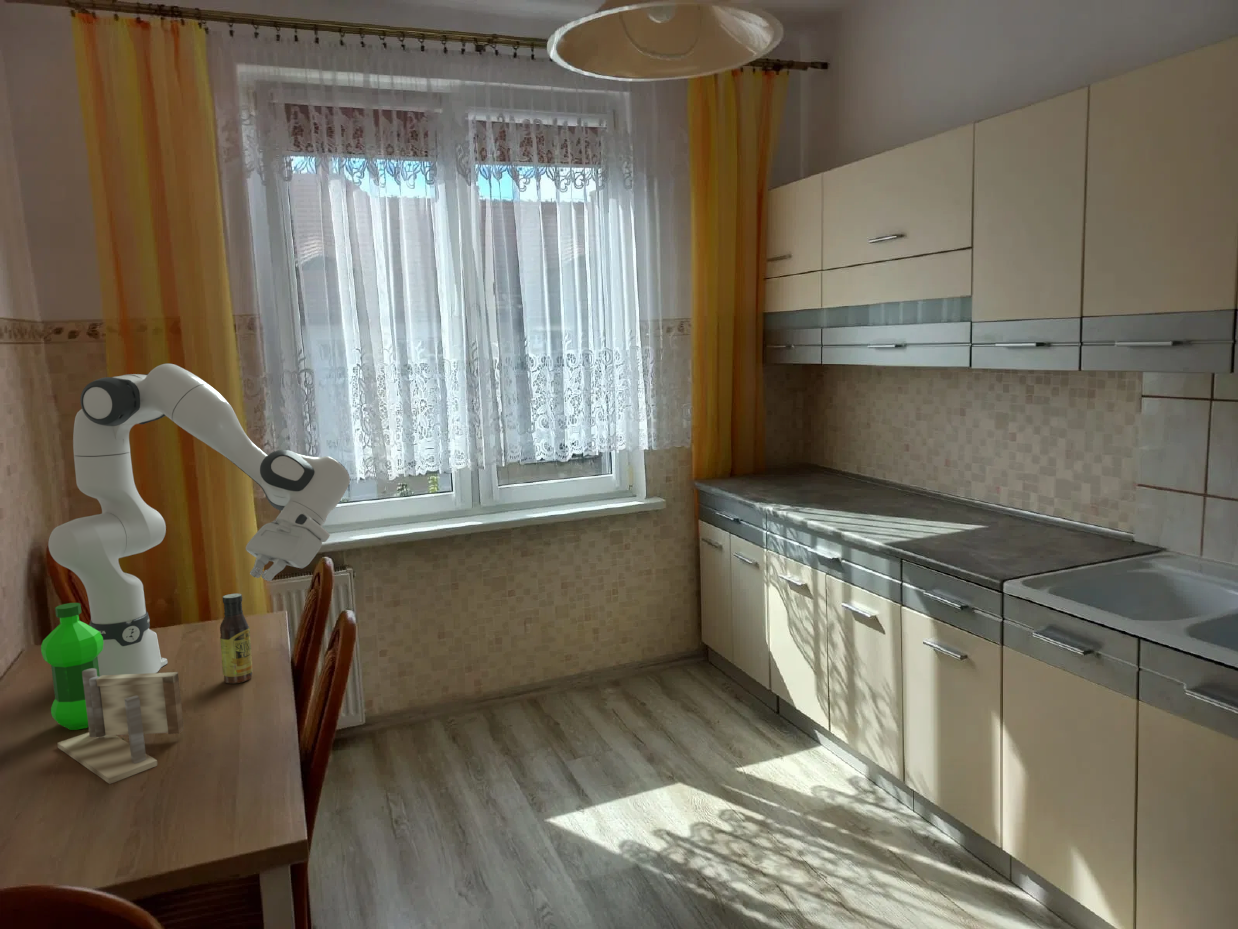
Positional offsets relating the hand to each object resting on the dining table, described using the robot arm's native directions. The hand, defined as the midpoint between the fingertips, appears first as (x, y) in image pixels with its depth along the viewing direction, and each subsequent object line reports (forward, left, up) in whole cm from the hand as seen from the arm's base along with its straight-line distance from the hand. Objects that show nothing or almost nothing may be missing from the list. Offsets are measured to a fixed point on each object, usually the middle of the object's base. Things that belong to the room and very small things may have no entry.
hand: (259, 577), depth 176 cm
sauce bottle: (-18, +3, -28) cm, 33 cm away
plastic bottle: (-22, -28, -28) cm, 46 cm away
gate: (-4, -25, -26) cm, 36 cm away
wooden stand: (-2, -31, -27) cm, 42 cm away
